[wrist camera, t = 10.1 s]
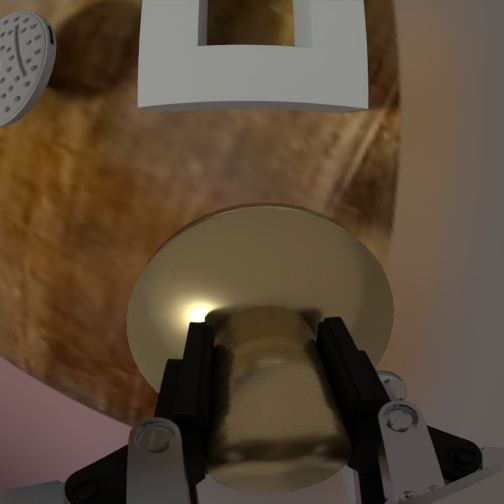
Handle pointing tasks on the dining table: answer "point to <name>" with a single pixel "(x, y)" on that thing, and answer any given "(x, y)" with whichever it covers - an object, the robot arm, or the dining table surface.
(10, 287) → the dining table surface
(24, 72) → the showerhead
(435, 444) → the robot arm
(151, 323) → the end cover
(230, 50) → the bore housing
